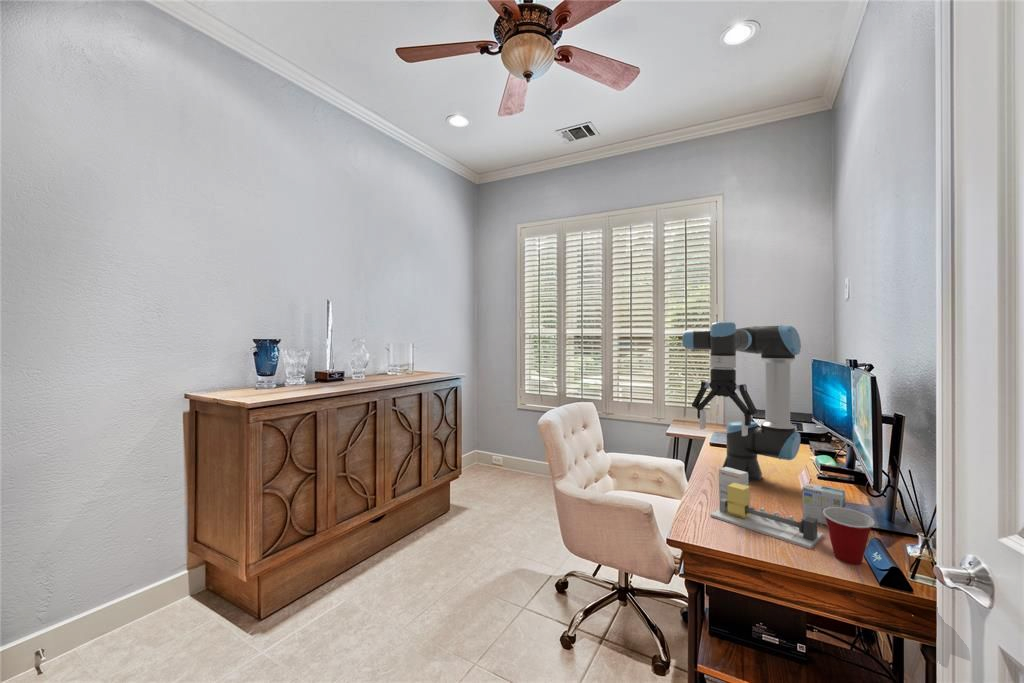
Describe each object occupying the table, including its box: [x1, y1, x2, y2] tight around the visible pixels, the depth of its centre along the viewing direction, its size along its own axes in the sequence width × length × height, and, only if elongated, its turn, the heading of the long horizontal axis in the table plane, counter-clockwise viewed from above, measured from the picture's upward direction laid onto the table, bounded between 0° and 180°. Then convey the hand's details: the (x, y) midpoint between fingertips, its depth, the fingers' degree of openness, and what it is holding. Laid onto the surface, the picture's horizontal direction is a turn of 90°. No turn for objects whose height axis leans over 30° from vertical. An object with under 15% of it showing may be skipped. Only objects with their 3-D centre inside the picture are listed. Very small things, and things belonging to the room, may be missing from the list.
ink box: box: [718, 466, 750, 501], centre depth 149 cm, size 9×5×12 cm, turn 33°
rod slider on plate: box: [710, 498, 824, 550], centre depth 130 cm, size 28×12×6 cm, turn 39°
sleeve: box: [728, 483, 751, 518], centre depth 136 cm, size 5×5×9 cm
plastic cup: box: [823, 507, 875, 566], centre depth 110 cm, size 11×11×12 cm
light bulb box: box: [802, 482, 846, 526], centre depth 134 cm, size 11×7×11 cm, turn 45°
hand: (722, 432), depth 138 cm, fingers open, 13 cm apart
